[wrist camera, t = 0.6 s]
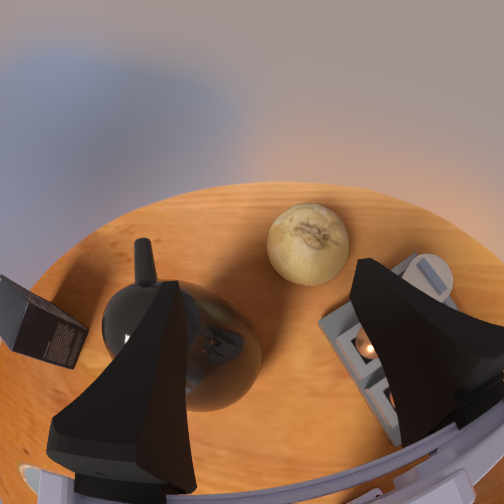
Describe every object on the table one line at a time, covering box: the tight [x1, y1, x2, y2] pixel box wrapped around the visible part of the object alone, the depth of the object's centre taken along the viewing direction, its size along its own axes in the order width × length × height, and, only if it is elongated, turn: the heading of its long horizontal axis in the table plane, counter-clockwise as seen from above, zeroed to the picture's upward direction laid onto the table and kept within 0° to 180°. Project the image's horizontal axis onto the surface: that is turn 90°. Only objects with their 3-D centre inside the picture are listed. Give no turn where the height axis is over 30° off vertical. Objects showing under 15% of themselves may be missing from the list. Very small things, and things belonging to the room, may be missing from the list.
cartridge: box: [402, 254, 453, 303], centre depth 20 cm, size 4×4×6 cm
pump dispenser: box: [102, 238, 262, 412], centre depth 20 cm, size 10×10×15 cm
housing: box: [318, 252, 459, 447], centre depth 21 cm, size 14×12×4 cm
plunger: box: [356, 327, 378, 359], centre depth 20 cm, size 3×3×3 cm
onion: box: [267, 203, 349, 286], centre depth 26 cm, size 8×8×7 cm
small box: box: [0, 274, 88, 370], centre depth 27 cm, size 11×6×10 cm, turn 69°
